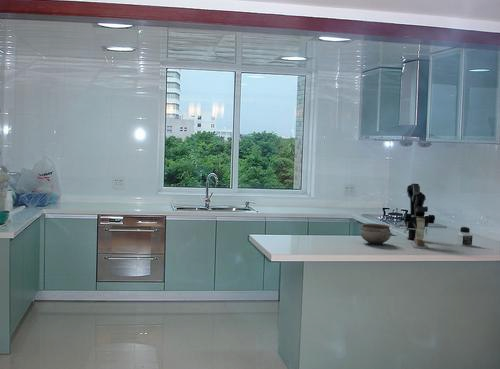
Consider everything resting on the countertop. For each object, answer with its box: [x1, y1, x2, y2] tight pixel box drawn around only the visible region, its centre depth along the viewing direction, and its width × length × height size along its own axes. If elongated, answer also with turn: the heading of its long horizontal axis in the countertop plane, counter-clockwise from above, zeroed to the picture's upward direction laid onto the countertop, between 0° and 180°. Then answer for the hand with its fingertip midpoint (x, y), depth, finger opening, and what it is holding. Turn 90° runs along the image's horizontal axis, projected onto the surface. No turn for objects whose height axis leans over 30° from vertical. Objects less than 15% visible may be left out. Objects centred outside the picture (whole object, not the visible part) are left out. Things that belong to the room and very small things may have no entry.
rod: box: [415, 218, 425, 240], centre depth 385 cm, size 4×4×13 cm
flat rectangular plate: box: [409, 238, 430, 250], centre depth 385 cm, size 20×9×4 cm, turn 173°
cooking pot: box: [359, 222, 393, 246], centre depth 386 cm, size 25×19×12 cm
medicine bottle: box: [456, 226, 474, 247], centre depth 399 cm, size 7×7×12 cm
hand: (420, 228), depth 384 cm, fingers closed on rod, 4 cm apart
